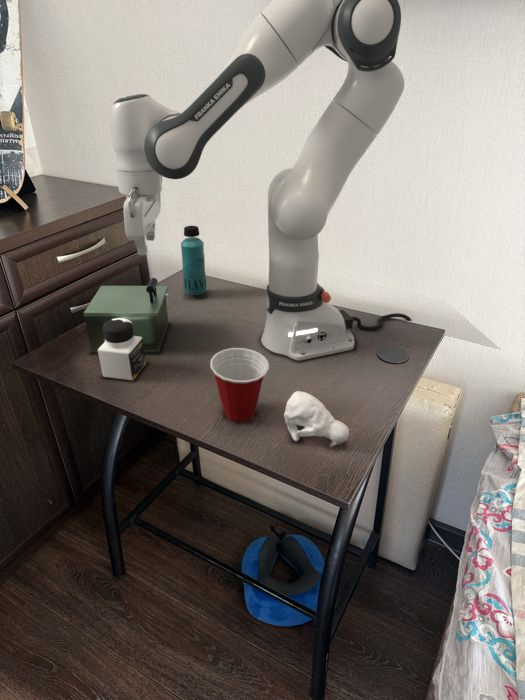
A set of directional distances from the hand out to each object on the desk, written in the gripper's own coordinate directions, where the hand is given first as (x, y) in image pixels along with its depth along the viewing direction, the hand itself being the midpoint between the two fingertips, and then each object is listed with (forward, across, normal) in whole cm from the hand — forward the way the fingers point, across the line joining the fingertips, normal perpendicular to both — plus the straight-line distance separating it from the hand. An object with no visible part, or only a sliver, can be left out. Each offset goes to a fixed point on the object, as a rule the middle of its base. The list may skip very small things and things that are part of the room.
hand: (147, 246), depth 110 cm
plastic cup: (+23, -30, -21) cm, 43 cm away
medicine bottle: (+24, -14, +5) cm, 28 cm away
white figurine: (+23, -36, -36) cm, 56 cm away
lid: (+13, 0, +6) cm, 15 cm away
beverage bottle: (+23, +25, -7) cm, 35 cm away
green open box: (+23, 0, +6) cm, 24 cm away
